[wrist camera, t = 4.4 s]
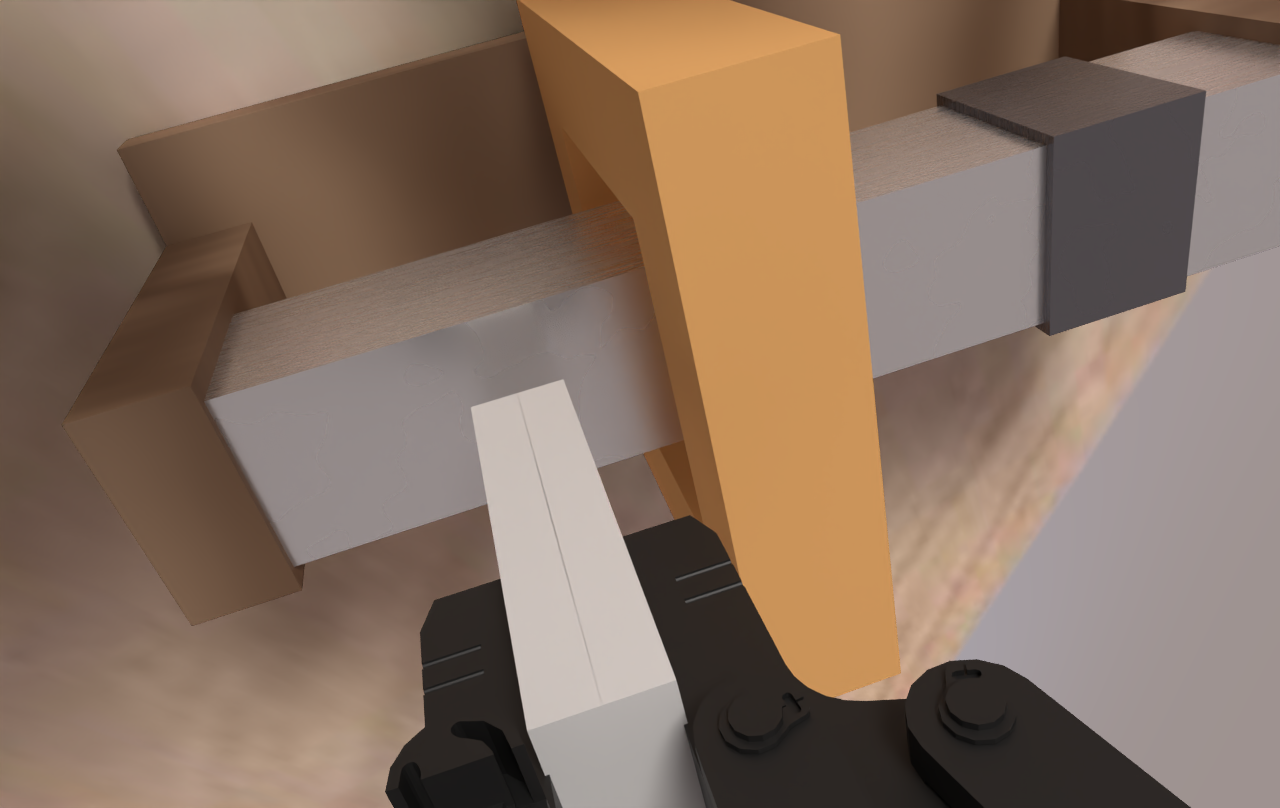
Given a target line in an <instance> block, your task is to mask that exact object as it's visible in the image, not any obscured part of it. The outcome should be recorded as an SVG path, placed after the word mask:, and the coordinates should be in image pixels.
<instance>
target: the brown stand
mask: <svg viewBox="0 0 1280 808" xmlns="http://www.w3.org/2000/svg"><path fill="white" fill-rule="evenodd" d="M731 1H734V2H737V3H741V4H744V5H747V6H750V7H753V8H757V9H760V10H763V11H766V12H770V13H773V14H776V15H779V16H782V17H786V18H789V19H792V20H795V21H798V22H802V23H805V24H808V25H811V26H814V27H818V28H821V29H824V30H827V31H830V32H834V33H837V34H840V37H841V48H842V58H843V69H844V79H845V90H846V100H847V111H848V122H849V132H853V131H856V130H860V129H863V128H867V127H870V126H873V125H877V124H880V123H884V122H887V121H890V120H894V119H897V118H900V117H904V116H907V115H911V114H914V113H917V112H921V111H924V110H928V109H931V108H934V107H937V96H936V94H938V93H942V92H945V91H948V90H952V89H955V88H959V87H962V86H965V85H969V84H972V83H976V82H979V81H982V80H986V79H989V78H993V77H996V76H999V75H1003V74H1006V73H1010V72H1013V71H1016V70H1020V69H1023V68H1027V67H1030V66H1033V65H1037V64H1040V63H1044V62H1047V61H1050V60H1054V59H1057V58H1061V57H1064V56H1066V57H1070V58H1074V59H1078V60H1082V61H1086V62H1090V61H1093V60H1097V59H1100V58H1104V57H1107V56H1110V55H1114V54H1117V53H1120V52H1124V51H1127V50H1131V49H1134V48H1137V47H1141V46H1144V45H1148V44H1151V43H1154V42H1158V41H1161V40H1164V39H1168V38H1171V37H1175V36H1178V35H1181V34H1185V33H1188V32H1192V31H1201V32H1207V33H1213V34H1219V35H1225V36H1230V37H1236V38H1242V39H1248V40H1254V41H1259V42H1265V43H1271V44H1277V45H1280V0H731ZM117 151H118V153H119V155H120V157H121V159H122V161H123V163H124V165H125V167H126V169H127V171H128V173H129V174H130V176H131V178H132V180H133V182H134V184H135V186H136V188H137V190H138V192H139V194H140V196H141V198H142V200H143V202H144V204H145V206H146V207H147V209H148V211H149V213H150V215H151V217H152V219H153V221H154V223H155V225H156V227H157V229H158V231H159V233H160V235H161V237H162V238H163V240H164V242H165V244H166V248H165V250H164V251H163V253H162V255H161V256H160V258H159V260H158V262H157V263H156V265H155V267H154V268H153V270H152V272H151V274H150V275H149V277H148V279H147V280H146V282H145V284H144V285H143V287H142V289H141V291H140V292H139V294H138V296H137V297H136V299H135V301H134V302H133V304H132V306H131V308H130V309H129V311H128V313H127V314H126V316H125V318H124V320H123V321H122V323H121V325H120V326H119V328H118V330H117V331H116V333H115V335H114V337H113V338H112V340H111V342H110V343H109V345H108V347H107V348H106V350H105V352H104V354H103V355H102V357H101V359H100V360H99V362H98V364H97V365H96V367H95V369H94V371H93V372H92V374H91V376H90V377H89V379H88V381H87V383H86V384H85V386H84V388H83V389H82V391H81V393H80V394H79V396H78V398H77V400H76V401H75V403H74V405H73V406H72V408H71V410H70V411H69V413H68V415H67V417H66V418H65V420H64V422H63V423H62V427H63V428H64V430H65V431H66V433H67V434H68V436H69V438H70V439H71V441H72V442H73V444H74V445H75V447H76V448H77V450H78V451H79V453H80V454H81V456H82V458H83V459H84V461H85V462H86V464H87V465H88V467H89V468H90V470H91V471H92V473H93V475H94V476H95V478H96V479H97V481H98V482H99V484H100V485H101V487H102V488H103V490H104V491H105V493H106V495H107V496H108V498H109V499H110V501H111V502H112V504H113V505H114V507H115V508H116V510H117V511H118V513H119V515H120V516H121V518H122V519H123V521H124V522H125V524H126V525H127V527H128V528H129V530H130V531H131V533H132V535H133V536H134V538H135V539H136V541H137V542H138V544H139V545H140V547H141V548H142V550H143V551H144V553H145V555H146V556H147V558H148V559H149V561H150V562H151V564H152V565H153V567H154V568H155V570H156V571H157V573H158V575H159V576H160V578H161V579H162V581H163V582H164V584H165V585H166V587H167V588H168V590H169V591H170V593H171V595H172V596H173V598H174V599H175V601H176V602H177V604H178V605H179V607H180V608H181V610H182V611H183V613H184V615H185V616H186V618H187V619H188V621H189V622H190V624H191V625H192V626H194V625H197V624H200V623H203V622H206V621H209V620H212V619H215V618H218V617H221V616H225V615H228V614H231V613H234V612H237V611H240V610H243V609H246V608H249V607H252V606H255V605H258V604H261V603H264V602H267V601H270V600H273V599H276V598H279V597H282V596H285V595H288V594H292V593H295V592H298V591H301V590H302V586H303V576H304V567H305V564H301V565H298V566H295V567H294V566H293V564H292V562H291V561H290V559H289V557H288V555H287V553H286V551H285V550H284V548H283V546H282V544H281V542H280V540H279V538H278V537H277V535H276V533H275V531H274V529H273V527H272V526H271V524H270V522H269V520H268V518H267V516H266V515H265V513H264V511H263V509H262V507H261V505H260V504H259V502H258V500H257V498H256V496H255V494H254V493H253V491H252V489H251V487H250V485H249V483H248V482H247V480H246V478H245V476H244V474H243V472H242V470H241V469H240V467H239V465H238V463H237V461H236V459H235V458H234V456H233V454H232V452H231V450H230V448H229V447H228V445H227V443H226V441H225V439H224V437H223V436H222V434H221V432H220V430H219V428H218V426H217V425H216V423H215V421H214V419H213V417H212V415H211V414H210V412H209V410H208V408H207V406H206V404H205V402H204V400H205V397H206V394H207V391H208V388H209V385H210V382H211V379H212V376H213V373H214V370H215V367H216V364H217V361H218V358H219V355H220V352H221V349H222V346H223V343H224V340H225V337H226V334H227V331H228V328H229V325H230V322H231V319H232V317H233V315H234V314H237V313H240V312H244V311H247V310H251V309H254V308H257V307H261V306H264V305H268V304H271V303H274V302H278V301H281V300H284V299H288V298H291V297H295V296H298V295H301V294H305V293H308V292H312V291H315V290H318V289H322V288H325V287H328V286H332V285H335V284H339V283H342V282H345V281H349V280H352V279H356V278H359V277H362V276H366V275H369V274H372V273H376V272H379V271H383V270H386V269H389V268H393V267H396V266H400V265H403V264H406V263H410V262H413V261H416V260H420V259H423V258H427V257H430V256H433V255H437V254H440V253H444V252H447V251H450V250H454V249H457V248H460V247H464V246H467V245H471V244H474V243H477V242H481V241H484V240H488V239H491V238H494V237H498V236H501V235H504V234H508V233H511V232H515V231H518V230H521V229H525V228H528V227H532V226H535V225H538V224H542V223H545V222H548V221H552V220H555V219H559V218H562V217H565V216H569V215H572V210H571V206H570V202H569V198H568V195H567V191H566V187H565V183H564V180H563V176H562V172H561V168H560V164H559V161H558V157H557V153H556V149H555V145H554V142H553V138H552V134H551V130H550V127H549V123H548V119H547V115H546V111H545V108H544V104H543V100H542V96H541V92H540V89H539V85H538V81H537V77H536V74H535V70H534V66H533V62H532V58H531V55H530V51H529V47H528V43H527V39H526V36H525V32H524V31H523V32H520V33H516V34H512V35H509V36H505V37H501V38H498V39H494V40H490V41H487V42H483V43H479V44H476V45H472V46H468V47H465V48H461V49H458V50H454V51H450V52H447V53H443V54H439V55H436V56H432V57H428V58H425V59H421V60H417V61H414V62H410V63H406V64H403V65H399V66H395V67H392V68H388V69H384V70H381V71H377V72H373V73H370V74H366V75H362V76H359V77H355V78H351V79H348V80H344V81H340V82H337V83H333V84H329V85H326V86H322V87H318V88H315V89H311V90H307V91H304V92H300V93H296V94H293V95H289V96H285V97H282V98H278V99H274V100H271V101H267V102H263V103H260V104H256V105H252V106H249V107H245V108H241V109H238V110H234V111H230V112H227V113H223V114H219V115H216V116H212V117H208V118H205V119H201V120H197V121H194V122H190V123H186V124H183V125H179V126H175V127H172V128H168V129H164V130H161V131H157V132H154V133H150V134H146V135H143V136H139V137H135V138H132V139H128V140H126V141H125V142H124V143H123V144H122V145H121V146H120V147H119V148H118V149H117Z"/></svg>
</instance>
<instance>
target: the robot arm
mask: <svg viewBox="0 0 1280 808" xmlns="http://www.w3.org/2000/svg"><path fill="white" fill-rule="evenodd" d="M471 412H472V418H473V423H474V429H475V435H476V441H477V446H478V452H479V458H480V464H481V469H482V475H483V481H484V486H485V492H486V498H487V504H488V509H489V515H490V521H491V527H492V532H493V538H494V544H495V550H496V555H497V561H498V567H499V573H500V578H501V579H499V580H496V581H493V582H490V583H486V584H483V585H480V586H477V587H474V588H471V589H468V590H465V591H462V592H459V593H456V594H452V595H449V596H446V597H443V598H440V599H437V600H434V602H433V605H432V607H431V609H430V611H429V614H428V616H427V618H426V620H425V623H424V625H423V627H422V629H421V632H420V638H421V657H422V665H423V669H422V677H423V690H424V693H425V695H423V696H424V715H425V728H424V729H422V730H421V731H420V732H419V733H418V734H417V735H416V736H415V737H413V738H412V739H411V740H410V741H409V742H408V743H407V744H406V745H404V747H403V749H402V750H401V752H400V753H399V755H398V757H397V758H396V760H395V761H394V763H393V765H392V766H391V768H390V772H389V776H388V781H387V786H386V790H385V793H386V794H387V796H388V798H389V800H390V802H391V804H392V805H393V807H394V808H1191V807H1189V806H1188V805H1187V804H1185V803H1184V802H1183V801H1182V800H1180V799H1179V798H1178V797H1176V796H1175V795H1174V794H1173V793H1171V792H1170V791H1169V790H1168V789H1166V788H1165V787H1164V786H1163V785H1161V784H1160V783H1159V782H1158V781H1156V780H1155V779H1154V778H1152V777H1151V776H1150V775H1149V774H1147V773H1146V772H1145V771H1143V770H1142V769H1141V768H1140V767H1138V766H1137V765H1136V764H1135V763H1133V762H1132V761H1131V760H1130V759H1128V758H1127V757H1126V756H1125V755H1123V754H1122V753H1121V752H1119V751H1118V750H1117V749H1116V748H1114V747H1113V746H1112V745H1111V744H1109V743H1108V742H1107V741H1106V740H1104V739H1103V738H1102V737H1100V736H1099V735H1098V734H1096V733H1095V732H1094V731H1093V730H1091V729H1090V728H1089V727H1088V726H1086V725H1085V724H1084V723H1083V722H1081V721H1080V720H1079V719H1077V718H1076V717H1075V716H1074V715H1073V714H1071V713H1070V712H1069V711H1067V710H1066V709H1065V708H1064V707H1062V706H1061V705H1060V704H1058V703H1057V702H1056V701H1055V700H1053V699H1052V698H1051V697H1049V696H1048V695H1047V694H1046V693H1045V692H1043V691H1042V690H1041V689H1039V688H1038V687H1037V686H1036V685H1034V684H1033V683H1032V682H1030V681H1029V680H1028V679H1027V678H1025V677H1023V676H1021V675H1020V674H1018V673H1016V672H1014V671H1012V670H1011V669H1009V668H1007V667H1005V666H1003V665H999V664H994V663H990V662H986V661H981V660H977V659H976V660H959V661H949V662H946V663H944V664H941V665H939V666H936V667H934V668H931V669H929V670H927V671H926V672H925V673H924V674H923V675H922V676H921V677H919V678H918V679H917V680H916V681H915V682H914V683H913V684H912V685H911V688H910V691H909V693H908V696H907V699H896V700H877V701H850V700H841V699H837V698H833V697H829V696H825V695H823V694H821V693H819V692H817V691H814V690H812V689H810V688H808V687H807V686H806V685H804V684H803V683H802V682H801V681H799V680H798V679H797V678H796V677H795V676H794V675H793V674H792V672H791V671H790V670H789V668H788V667H787V665H786V664H785V662H784V660H783V658H782V657H781V655H780V653H779V651H778V649H777V647H776V645H775V643H774V641H773V639H772V637H771V636H770V634H769V632H768V630H767V628H766V626H765V624H764V622H763V620H762V618H761V617H760V615H759V613H758V611H757V609H756V607H755V605H754V603H753V601H752V599H751V598H750V596H749V594H748V592H747V590H746V588H745V586H743V584H742V581H741V579H740V577H739V575H738V573H737V571H736V569H735V567H734V565H733V564H732V563H731V560H730V558H729V556H728V554H727V552H726V550H725V548H724V546H723V544H722V542H721V540H720V539H719V537H718V535H717V533H716V532H714V531H713V530H711V529H710V528H708V527H707V526H705V525H704V524H703V523H701V522H700V521H698V520H697V519H695V518H694V517H692V516H691V515H689V516H686V517H682V518H679V519H676V520H673V521H670V522H667V523H664V524H661V525H658V526H655V527H652V528H648V529H645V530H642V531H639V532H636V533H633V534H630V535H627V536H624V537H622V534H621V531H620V529H619V526H618V523H617V521H616V518H615V515H614V513H613V510H612V507H611V505H610V502H609V500H608V497H607V494H606V492H605V489H604V486H603V484H602V481H601V478H600V476H599V473H598V470H597V468H596V465H595V462H594V460H593V457H592V454H591V452H590V449H589V446H588V444H587V441H586V438H585V436H584V433H583V430H582V428H581V425H580V422H579V420H578V417H577V414H576V412H575V409H574V406H573V404H572V401H571V398H570V396H569V393H568V390H567V388H566V385H565V382H564V380H563V379H562V380H559V381H556V382H552V383H549V384H546V385H542V386H539V387H536V388H533V389H529V390H526V391H523V392H519V393H516V394H513V395H509V396H506V397H503V398H500V399H496V400H493V401H490V402H486V403H483V404H480V405H476V406H473V407H471Z"/></svg>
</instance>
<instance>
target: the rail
mask: <svg viewBox="0 0 1280 808" xmlns="http://www.w3.org/2000/svg"><path fill="white" fill-rule="evenodd" d="M936 96H937V107H934V108H931V109H928V110H924V111H921V112H917V113H914V114H911V115H907V116H904V117H900V118H897V119H894V120H890V121H887V122H884V123H880V124H877V125H873V126H870V127H867V128H863V129H860V130H856V131H853V132H850V143H851V153H852V164H853V174H854V185H855V195H856V206H857V216H858V227H859V237H860V248H861V258H862V269H863V280H864V290H865V301H866V311H867V322H868V332H869V343H870V353H871V364H872V374H873V378H876V377H879V376H882V375H885V374H888V373H892V372H895V371H898V370H901V369H904V368H907V367H910V366H913V365H916V364H919V363H922V362H925V361H928V360H931V359H935V358H938V357H941V356H944V355H947V354H950V353H953V352H956V351H959V350H962V349H965V348H968V347H971V346H975V345H978V344H981V343H984V342H987V341H990V340H993V339H996V338H999V337H1002V336H1005V335H1008V334H1011V333H1014V332H1018V331H1021V330H1024V329H1027V328H1030V327H1033V326H1035V327H1037V328H1038V329H1040V330H1041V331H1043V332H1044V333H1046V334H1047V335H1049V336H1051V335H1054V334H1057V333H1060V332H1063V331H1066V330H1069V329H1072V328H1075V327H1079V326H1082V325H1085V324H1088V323H1091V322H1094V321H1097V320H1100V319H1103V318H1106V317H1109V316H1112V315H1115V314H1118V313H1121V312H1124V311H1127V310H1131V309H1134V308H1137V307H1140V306H1143V305H1146V304H1149V303H1152V302H1155V301H1158V300H1161V299H1164V298H1167V297H1170V296H1173V295H1176V294H1179V293H1182V292H1185V289H1186V280H1187V276H1190V275H1193V274H1196V273H1199V272H1202V271H1205V270H1208V269H1211V268H1214V267H1217V266H1220V265H1223V264H1227V263H1229V262H1233V261H1236V260H1238V259H1242V258H1245V257H1248V256H1251V255H1254V254H1257V253H1260V252H1263V251H1266V250H1270V249H1273V248H1276V247H1279V246H1280V45H1277V44H1271V43H1265V42H1259V41H1254V40H1248V39H1242V38H1236V37H1230V36H1225V35H1219V34H1213V33H1207V32H1201V31H1192V32H1188V33H1185V34H1181V35H1178V36H1175V37H1171V38H1168V39H1164V40H1161V41H1158V42H1154V43H1151V44H1148V45H1144V46H1141V47H1137V48H1134V49H1131V50H1127V51H1124V52H1120V53H1117V54H1114V55H1110V56H1107V57H1104V58H1100V59H1097V60H1093V61H1090V62H1086V61H1082V60H1078V59H1074V58H1070V57H1066V56H1064V57H1061V58H1057V59H1054V60H1050V61H1047V62H1044V63H1040V64H1037V65H1033V66H1030V67H1027V68H1023V69H1020V70H1016V71H1013V72H1010V73H1006V74H1003V75H999V76H996V77H993V78H989V79H986V80H982V81H979V82H976V83H972V84H969V85H965V86H962V87H959V88H955V89H952V90H948V91H945V92H942V93H938V94H936ZM562 379H563V380H564V382H565V385H566V388H567V390H568V393H569V396H570V398H571V401H572V404H573V406H574V409H575V412H576V414H577V417H578V420H579V422H580V425H581V428H582V430H583V433H584V436H585V438H586V441H587V444H588V446H589V449H590V452H591V454H592V457H593V460H594V462H595V465H596V468H600V467H603V466H606V465H609V464H612V463H615V462H618V461H621V460H624V459H627V458H630V457H633V456H636V455H640V454H643V453H646V452H649V451H652V450H655V449H658V448H661V447H664V446H667V445H670V444H673V443H676V442H679V441H683V440H684V438H683V433H682V429H681V425H680V420H679V416H678V412H677V407H676V403H675V398H674V394H673V390H672V385H671V381H670V377H669V372H668V368H667V363H666V359H665V355H664V350H663V346H662V342H661V337H660V333H659V328H658V324H657V320H656V315H655V311H654V307H653V302H652V298H651V293H650V289H649V285H648V280H647V276H646V272H645V267H644V263H643V258H642V254H641V250H640V245H639V241H638V237H637V232H636V228H635V224H634V219H633V218H632V217H631V215H630V214H629V213H628V211H627V210H626V209H625V208H624V206H623V205H622V204H621V202H620V201H616V202H613V203H609V204H606V205H603V206H599V207H596V208H592V209H589V210H586V211H582V212H579V213H576V214H572V215H569V216H565V217H562V218H559V219H555V220H552V221H548V222H545V223H542V224H538V225H535V226H532V227H528V228H525V229H521V230H518V231H515V232H511V233H508V234H504V235H501V236H498V237H494V238H491V239H488V240H484V241H481V242H477V243H474V244H471V245H467V246H464V247H460V248H457V249H454V250H450V251H447V252H444V253H440V254H437V255H433V256H430V257H427V258H423V259H420V260H416V261H413V262H410V263H406V264H403V265H400V266H396V267H393V268H389V269H386V270H383V271H379V272H376V273H372V274H369V275H366V276H362V277H359V278H356V279H352V280H349V281H345V282H342V283H339V284H335V285H332V286H328V287H325V288H322V289H318V290H315V291H312V292H308V293H305V294H301V295H298V296H295V297H291V298H288V299H284V300H281V301H278V302H274V303H271V304H268V305H264V306H261V307H257V308H254V309H251V310H247V311H244V312H240V313H237V314H234V315H233V317H232V319H231V322H230V325H229V328H228V331H227V334H226V337H225V340H224V343H223V346H222V349H221V352H220V355H219V358H218V361H217V364H216V367H215V370H214V373H213V376H212V379H211V382H210V385H209V388H208V391H207V394H206V397H205V400H204V402H205V404H206V406H207V408H208V410H209V412H210V414H211V415H212V417H213V419H214V421H215V423H216V425H217V426H218V428H219V430H220V432H221V434H222V436H223V437H224V439H225V441H226V443H227V445H228V447H229V448H230V450H231V452H232V454H233V456H234V458H235V459H236V461H237V463H238V465H239V467H240V469H241V470H242V472H243V474H244V476H245V478H246V480H247V482H248V483H249V485H250V487H251V489H252V491H253V493H254V494H255V496H256V498H257V500H258V502H259V504H260V505H261V507H262V509H263V511H264V513H265V515H266V516H267V518H268V520H269V522H270V524H271V526H272V527H273V529H274V531H275V533H276V535H277V537H278V538H279V540H280V542H281V544H282V546H283V548H284V550H285V551H286V553H287V555H288V557H289V559H290V561H291V562H292V564H293V566H294V567H295V566H298V565H301V564H305V563H308V562H311V561H314V560H317V559H320V558H323V557H326V556H329V555H332V554H335V553H338V552H341V551H344V550H348V549H351V548H354V547H357V546H360V545H363V544H366V543H369V542H372V541H375V540H378V539H381V538H384V537H387V536H391V535H394V534H397V533H400V532H403V531H406V530H409V529H412V528H415V527H418V526H421V525H424V524H427V523H431V522H434V521H437V520H440V519H443V518H446V517H449V516H452V515H455V514H458V513H461V512H464V511H467V510H470V509H474V508H477V507H480V506H483V505H486V504H487V498H486V492H485V486H484V481H483V475H482V469H481V464H480V458H479V452H478V446H477V441H476V435H475V429H474V423H473V418H472V412H471V407H473V406H476V405H480V404H483V403H486V402H490V401H493V400H496V399H500V398H503V397H506V396H509V395H513V394H516V393H519V392H523V391H526V390H529V389H533V388H536V387H539V386H542V385H546V384H549V383H552V382H556V381H559V380H562Z"/></svg>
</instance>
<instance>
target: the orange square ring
mask: <svg viewBox="0 0 1280 808" xmlns="http://www.w3.org/2000/svg"><path fill="white" fill-rule="evenodd" d="M516 2H517V5H518V9H519V13H520V17H521V21H522V24H523V28H524V32H525V36H526V39H527V43H528V47H529V51H530V55H531V58H532V62H533V66H534V70H535V74H536V77H537V81H538V85H539V89H540V92H541V96H542V100H543V104H544V108H545V111H546V115H547V119H548V123H549V127H550V130H551V134H552V138H553V142H554V145H555V149H556V153H557V157H558V161H559V164H560V168H561V172H562V176H563V180H564V183H565V187H566V191H567V195H568V198H569V202H570V206H571V210H572V214H576V213H579V212H582V211H586V210H589V209H592V208H596V207H599V206H603V205H606V204H609V203H613V202H616V201H620V202H621V204H622V205H623V206H624V208H625V209H626V210H627V211H628V213H629V214H630V215H631V217H632V218H633V219H634V224H635V228H636V232H637V237H638V241H639V245H640V250H641V254H642V258H643V263H644V267H645V272H646V276H647V280H648V285H649V289H650V293H651V298H652V302H653V307H654V311H655V315H656V320H657V324H658V328H659V333H660V337H661V342H662V346H663V350H664V355H665V359H666V363H667V368H668V372H669V377H670V381H671V385H672V390H673V394H674V398H675V403H676V407H677V412H678V416H679V420H680V425H681V429H682V433H683V438H684V440H683V441H679V442H676V443H673V444H670V445H667V446H664V447H661V448H658V449H655V450H652V451H649V452H646V453H643V454H644V456H645V458H646V460H647V462H648V464H649V467H650V469H651V471H652V473H653V475H654V477H655V479H656V481H657V483H658V486H659V488H660V490H661V492H662V494H663V496H664V498H665V500H666V502H667V505H668V507H669V509H670V511H671V513H672V515H673V517H674V519H675V520H676V519H679V518H682V517H686V516H689V515H691V516H692V517H694V518H695V519H697V520H698V521H700V522H701V523H703V524H704V525H705V526H707V527H708V528H710V529H711V530H713V531H714V532H716V533H717V535H718V537H719V539H720V540H721V542H722V544H723V546H724V548H725V550H726V552H727V554H728V556H729V558H730V560H731V563H732V564H733V565H734V567H735V569H736V571H737V573H738V575H739V577H740V579H741V581H742V584H743V586H745V588H746V590H747V592H748V594H749V596H750V598H751V599H752V601H753V603H754V605H755V607H756V609H757V611H758V613H759V615H760V617H761V618H762V620H763V622H764V624H765V626H766V628H767V630H768V632H769V634H770V636H771V637H772V639H773V641H774V643H775V645H776V647H777V649H778V651H779V653H780V655H781V657H782V658H783V660H784V662H785V664H786V665H787V667H788V668H789V670H790V671H791V672H792V674H793V675H794V676H795V677H796V678H797V679H798V680H799V681H801V682H802V683H803V684H804V685H806V686H807V687H808V688H810V689H812V690H814V691H817V692H819V693H821V694H823V695H825V696H829V697H833V698H834V697H836V696H839V695H842V694H845V693H847V692H850V691H853V690H856V689H859V688H861V687H864V686H867V685H870V684H872V683H875V682H878V681H881V680H883V679H886V678H889V677H892V676H895V675H897V674H900V673H901V669H900V659H899V648H898V638H897V627H896V617H895V606H894V596H893V585H892V574H891V564H890V553H889V543H888V532H887V522H886V511H885V501H884V490H883V480H882V469H881V459H880V448H879V438H878V427H877V416H876V406H875V395H874V385H873V374H872V364H871V353H870V343H869V332H868V322H867V311H866V301H865V290H864V280H863V269H862V258H861V248H860V237H859V227H858V216H857V206H856V195H855V185H854V174H853V164H852V153H851V143H850V132H849V122H848V111H847V100H846V90H845V79H844V69H843V58H842V48H841V37H840V34H837V33H834V32H830V31H827V30H824V29H821V28H818V27H814V26H811V25H808V24H805V23H802V22H798V21H795V20H792V19H789V18H786V17H782V16H779V15H776V14H773V13H770V12H766V11H763V10H760V9H757V8H753V7H750V6H747V5H744V4H741V3H737V2H734V1H731V0H516Z"/></svg>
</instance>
